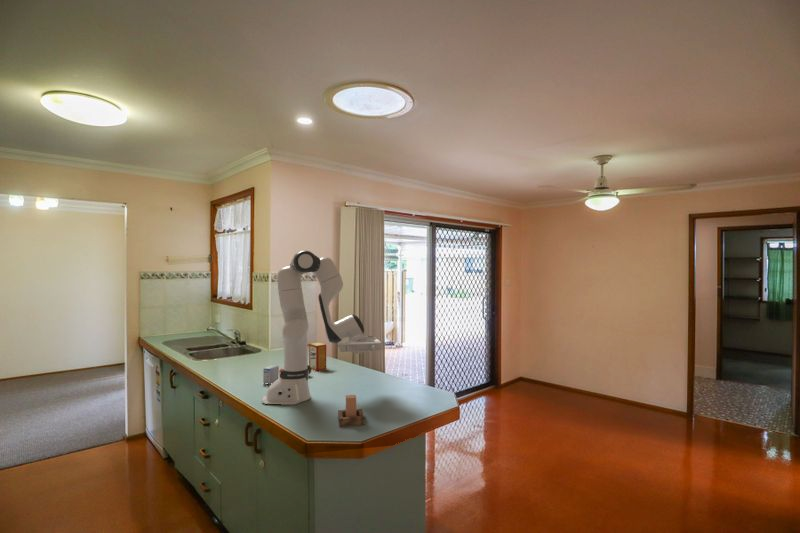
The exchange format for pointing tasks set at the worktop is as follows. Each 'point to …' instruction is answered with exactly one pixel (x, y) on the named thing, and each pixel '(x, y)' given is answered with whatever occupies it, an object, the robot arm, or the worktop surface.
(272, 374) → the medicine box
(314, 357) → the baking soda box
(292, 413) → the worktop surface
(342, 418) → the walnut well
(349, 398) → the salmon orange rectangular block
